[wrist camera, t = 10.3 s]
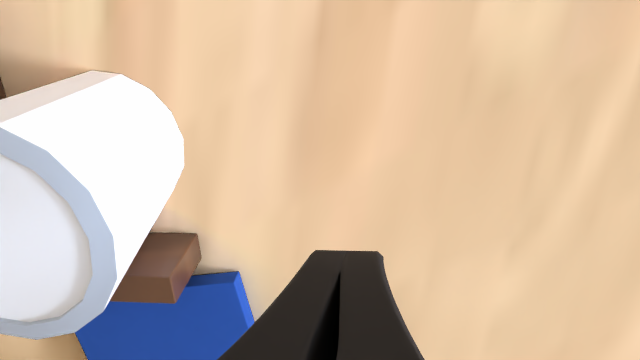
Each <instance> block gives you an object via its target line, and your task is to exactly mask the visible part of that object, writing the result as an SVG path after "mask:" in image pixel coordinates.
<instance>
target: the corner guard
mask: <svg viewBox="0 0 640 360" xmlns="http://www.w3.org/2000/svg"><path fill="white" fill-rule="evenodd" d="M4 98H6V95H5V92H4V89H3V85H2V82H1V79H0V100H1V99H4ZM200 260H201V252H200V247H199V241H198V236H197V234H188V233H148V235H147V237H146V238H145V240H144V242H143V244H142V245H141V247H140V249H139V250H138V252H137V254H136V256H135V257H134V259H133V261H132V263H131V264H130V266H129V268H128V270H127V271H126V273H125V275H124V277H123V278H122V280H121V282H120V284H119V285H118V287H117V289H116V290H115V292H114V294H113V296H112V297H111V299H110V301H113V302H141V303H169V304H175V303H176V302H177V300H178V298H179V297H180V295H181V293H182V291H183V290H184V288H185V286H186V284H187V283H188V281H189V279H190V277H191V276H192V274H193V272H194V270H195V269H196V267H197V265H198V263H199V262H200Z"/></svg>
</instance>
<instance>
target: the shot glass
mask: <svg viewBox="0 0 640 360" xmlns="http://www.w3.org/2000/svg"><path fill="white" fill-rule="evenodd" d="M183 167H184V148H183V138H182V135H181V133H180V131H179V129H178V126H177V124H176V122H175V119H174V117H173V115H172V113H171V111H170V110H169V109H168V108H167V107H166V106H165V105H164V104H163V103H162V102H161V101H160V100H159V99H158V97H157V96H156V95H155V94H154V93H153V92H152V91H151V90H150V89H149V88H147V87H145V86H143V85H141V84H139V83H137V82H135V81H133V80H132V79H130V78H128V77H126V76H124V75H122V74H116V73H108V72H100V71H89V72H86V73H82V74H79V75H76V76H73V77H70V78H67V79H64V80H60V81H57V82H54V83H51V84H48V85H45V86H42V87H39V88H35V89H32V90H29V91H26V92H23V93H20V94H17V95H14V96H11V97H7V98H4V99H1V100H0V334H4V335H11V336H17V337H23V338H29V339H35V340H37V339H43V338H48V337H54V336H59V335H65V334H70V333H75V332H76V331H78V330H79V329H80V328H82V327H83V326H85V325H86V324H87V323H89V322H90V321H91V320H93V319H94V318H95V317H97V316H98V315H100V314H101V313H102V312H103V311H104V310H105V308H106V306H107V304H108V303H109V301H110V299H111V297H112V296H113V294H114V292H115V290H116V289H117V287H118V285H119V284H120V282H121V280H122V278H123V277H124V275H125V273H126V271H127V270H128V268H129V266H130V264H131V263H132V261H133V259H134V257H135V256H136V254H137V252H138V250H139V249H140V247H141V245H142V244H143V242H144V240H145V238H146V237H147V235H148V233H149V231H150V230H151V228H152V226H153V224H154V223H155V221H156V219H157V217H158V216H159V214H160V212H161V210H162V209H163V207H164V205H165V204H166V202H167V200H168V198H169V197H170V195H171V193H172V191H173V190H174V188H175V185H176V183H177V181H178V179H179V176H180V174H181V172H182V170H183Z"/></svg>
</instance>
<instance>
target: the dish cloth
mask: <svg viewBox="0 0 640 360" xmlns="http://www.w3.org/2000/svg"><path fill="white" fill-rule="evenodd" d="M254 323H255V322H254V319H253V316H252V312H251V309H250V306H249V303H248V299H247V296H246V293H245V290H244V286H243V283H242V280H241V277H240V274H239V272H238V271H237V272H227V273H216V274H206V275H195V276H191V277H190V279H189V281H188V283H187V284H186V286H185V288H184V290H183V291H182V293H181V295H180V297H179V298H178V300H177V302H176V303H175V304H169V303H141V302H113V301H109V303H108V304H107V306H106V308H105V310H104V311H103V312H102V313H101V314H100V315H98V316H97V317H95V318H94V319H93V320H91V321H90V322H89V323H87V324H86V325H85V326H83V327H82V328H80V329H79V330H78V331H76V332H75V334H76V336H77V338H78V340H79V342H80V344H81V347H82V349H83V351H84V353H85V355H86V357H87V359H88V360H217V359H218V358H219V357H220V356H221V355H223V354H224V353H225V352H226V351H227V350H228V349H229V348H230V347H231V346H232V345H233V344H234V343H235V342H236V341H237V340H238V339H239V338H240V337H241V336H242V335H243V334H244V333H245V332H246V331H247V330H248V329H249V328H250V327H251V326H252V325H253V324H254Z"/></svg>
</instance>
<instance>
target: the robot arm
mask: <svg viewBox="0 0 640 360" xmlns="http://www.w3.org/2000/svg"><path fill="white" fill-rule="evenodd" d="M217 360H424V358H423V356H422V355H421V353H420V351H419V349H418V347H417V346H416V344H415V342H414V340H413V338H412V337H411V335H410V333H409V331H408V329H407V327H406V325H405V323H404V320H403V318H402V316H401V314H400V311H399V309H398V307H397V305H396V303H395V300H394V298H393V295H392V292H391V290H390V287H389V284H388V281H387V277H386V274H385V269H384V263H383V256H382V255H381V254H380V253H379V252H378V251H329V250H315V251H314V252H313V253H312V254H311V255H310V256H309V258H308V259H307V260H306V262H305V263H304V264H303V266H302V267H301V268H300V270H299V271H298V272H297V274H296V275H295V276H294V278H293V279H292V280H291V281H290V283H289V284H288V285H287V286H286V288H285V289H284V290H283V291H282V292H281V294H280V295H279V296H278V297H277V298H276V299H275V301H274V302H273V303H272V304H271V305H270V306H269V308H268V309H267V310H266V311H265V312H264V313H263V314H262V315H261V317H260V318H259V319H258V320H257V321H256V322H255V323H254V324H253V325H252V326H251V327H250V328H249V329H248V330H247V331H246V332H245V333H244V334H243V335H242V336H241V337H240V338H239V339H238V340H237V341H236V342H235V343H234V344H233V345H232V346H231V347H230V348H229V349H228V350H227V351H226V352H225V353H224V354H223V355H221V356H220V357H219V358H218V359H217Z"/></svg>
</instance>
